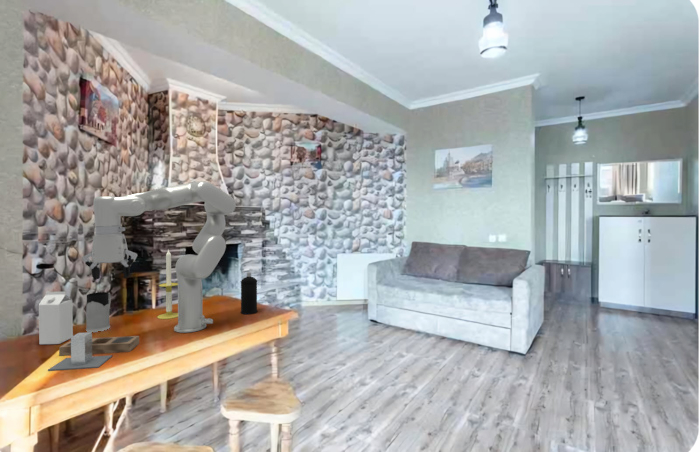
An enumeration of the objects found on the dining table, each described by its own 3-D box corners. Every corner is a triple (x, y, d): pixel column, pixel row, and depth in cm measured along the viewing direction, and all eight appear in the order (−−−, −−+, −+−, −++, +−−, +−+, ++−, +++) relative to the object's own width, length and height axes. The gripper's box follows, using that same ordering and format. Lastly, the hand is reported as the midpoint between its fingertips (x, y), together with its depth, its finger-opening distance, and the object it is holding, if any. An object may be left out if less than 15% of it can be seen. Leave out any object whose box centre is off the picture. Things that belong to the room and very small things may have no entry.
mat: (112, 356, 119) (112, 355, 119) (98, 367, 110) (98, 366, 110) (66, 359, 116) (66, 358, 116) (47, 370, 107) (47, 369, 107)
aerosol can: (254, 314, 170) (254, 274, 170) (238, 314, 170) (238, 273, 170) (259, 310, 179) (259, 271, 178) (243, 310, 179) (243, 271, 178)
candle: (154, 319, 161) (153, 249, 160) (160, 314, 171) (160, 248, 170) (177, 318, 163) (177, 249, 162) (182, 312, 173) (182, 247, 172)
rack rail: (139, 343, 131) (139, 335, 131) (129, 351, 123) (129, 343, 123) (73, 347, 127) (73, 338, 127) (59, 355, 119) (59, 346, 119)
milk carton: (53, 338, 136) (53, 289, 136) (73, 337, 137) (72, 289, 136) (39, 344, 129) (38, 294, 129) (59, 344, 130) (58, 293, 129)
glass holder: (80, 333, 142) (79, 296, 142) (99, 322, 156) (99, 289, 156) (103, 332, 144) (103, 295, 143) (120, 321, 158) (120, 288, 157)
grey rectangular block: (92, 359, 115) (92, 332, 115) (85, 364, 111) (84, 336, 111) (79, 359, 115) (78, 332, 114) (71, 365, 111) (70, 337, 111)
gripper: (139, 229, 129) (142, 274, 131) (86, 231, 126) (90, 277, 127) (131, 230, 122) (134, 278, 123) (74, 232, 119) (78, 282, 120)
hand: (111, 278), depth 125 cm, fingers open, 9 cm apart
